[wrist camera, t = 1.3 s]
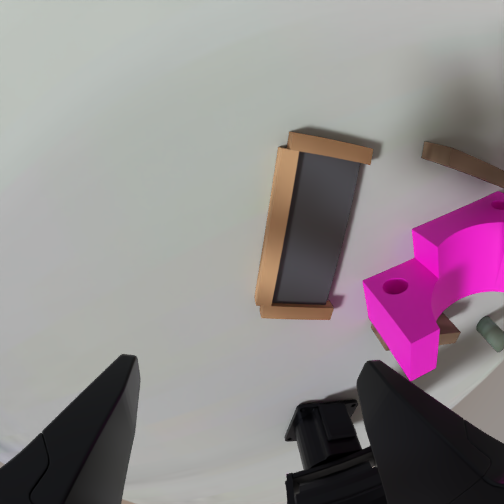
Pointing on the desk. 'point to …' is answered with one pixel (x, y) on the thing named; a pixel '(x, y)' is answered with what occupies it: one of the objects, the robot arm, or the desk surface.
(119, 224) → the desk surface
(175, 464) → the desk surface
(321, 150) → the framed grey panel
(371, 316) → the magenta curved bracket
